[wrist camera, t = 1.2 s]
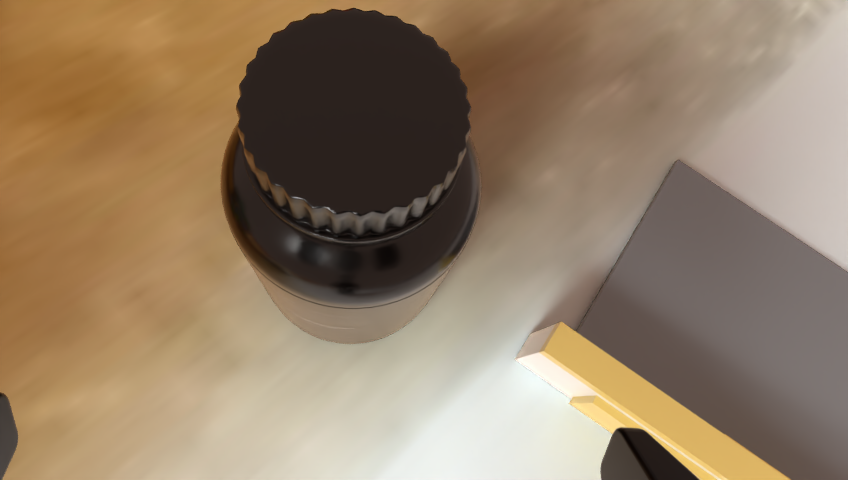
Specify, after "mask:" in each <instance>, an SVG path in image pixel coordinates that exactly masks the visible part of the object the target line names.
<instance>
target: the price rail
mask: <svg viewBox="0 0 848 480" xmlns="http://www.w3.org/2000/svg"><path fill="white" fill-rule="evenodd" d="M515 360H516V361H517V362H519V363H520V364H522V365H523V366H525V367H526V368H527V369H529V370H530V371H532V372H533V373H535V374H536V375H537V376H539V377H540V378H542V379H543V380H545V381H546V382H547V383H549V384H550V385H552V386H553V387H555V388H556V389H557V390H559V391H560V392H562V393H563V394H565V395H566V396H567V397H569V398H570V399H571V401H570V403H569V404H571V405H572V406H573V407H575V408H576V409H578V410H579V411H581V412H582V413H583V414H585V415H586V416H588V417H589V418H591V419H592V420H593V421H595V422H596V423H598V424H599V425H601V426H602V427H603V428H605V429H606V430H608V431H609V432H611V433H612V434H613V433H614V431H615V430H616V429H617V428H620V427H626V428H640V429H643V430H645V431H646V432H647V433H649V434H650V435H651V436H652V437H653V438H654V439H655V440H656V441H658V442H659V443H660V444H661V445H662V446H663V447H664V448H665V449H666V450H667V451H669V452H670V453H671V454H672V455H673V456H674V457H675V458H676V459H677V460H679V461H680V462H681V463H682V464H683V465H684V466H685V467H686V468H687V469H689V470H690V471H691V472H692V473H693V474H694V475H695V476H696V477H697V478H699V479H700V480H791V479H790V478H788V477H787V476H785V475H784V474H782V473H781V472H780V471H778V470H777V469H775V468H774V467H772V466H771V465H769V464H768V463H767V462H765V461H764V460H762V459H761V458H759V457H758V456H756V455H755V454H754V453H752V452H751V451H749V450H748V449H746V448H745V447H743V446H742V445H740V444H739V443H738V442H736V441H735V440H733V439H732V438H730V437H729V436H727V435H726V434H723V433H722V432H720V431H719V430H717V429H716V428H714V427H713V426H711V425H710V424H709V423H707V422H706V421H704V420H703V419H701V418H700V417H698V416H697V415H696V414H694V413H693V412H691V411H690V410H688V409H687V408H685V407H684V406H683V405H681V404H680V403H678V402H677V401H675V400H674V399H672V398H671V397H670V396H668V395H667V394H665V393H664V392H662V391H661V390H659V389H658V388H657V387H655V386H654V385H652V384H651V383H649V382H648V381H646V380H645V379H644V378H642V377H641V376H639V375H638V374H636V373H635V372H633V371H632V370H631V369H629V368H628V367H626V366H625V365H623V364H622V363H620V362H619V361H618V360H616V359H615V358H613V357H612V356H610V355H609V354H607V353H606V352H604V351H603V350H602V349H600V348H599V347H597V346H596V345H594V344H593V343H591V342H590V341H589V340H587V339H586V338H584V337H583V336H581V335H580V334H578V333H577V332H576V331H574V330H573V329H571V328H570V327H568V326H567V325H565V324H564V323H563V322H559V323H556V324H554V325H551V326H549V327H546V328H544V329H542V330H539V331H537V332H534V333H532V334H530V335H529V337H528V338H527V340H526V342H525V343H524V345H523V347H522V348H521V350H520V351H519V353H518V355H517V356H516V358H515Z"/></svg>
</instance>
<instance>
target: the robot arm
mask: <svg viewBox="0 0 848 480" xmlns="http://www.w3.org/2000/svg"><path fill="white" fill-rule="evenodd" d="M17 443H18V431H17V428H16V424H15V421H14V417H13V413H12V410H11V406H10V403H9V400H8V397H7V396H6V395H5V394H4V393H1V392H0V480H2V479H3V476H4V474H5V472H6V470H7V468H8V466H9V463H10V461H11V459H12V457H13V455H14V452H15V450H16V447H17ZM601 480H700V479H699V478H697V477H696V476H695V475H694V474H693V473H692V472H691V471H690V470H689V469H687V468H686V467H685V466H684V465H683V464H682V463H681V462H680V461H679V460H677V459H676V458H675V457H674V456H673V455H672V454H671V453H670V452H669V451H667V450H666V449H665V448H664V447H663V446H662V445H661V444H660V443H659V442H658V441H656V440H655V439H654V438H653V437H652V436H651V435H650V434H649V433H647V432H646V431H645V430H643V429H640V428H626V427H620V428H617V429H616V430H615V431H614V433H613V435H612V437H611V440H610V442H609V445H608V447H607V450H606V452H605V455H604V457H603V460H602V463H601Z"/></svg>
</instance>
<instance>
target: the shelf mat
mask: <svg viewBox="0 0 848 480" xmlns="http://www.w3.org/2000/svg"><path fill="white" fill-rule="evenodd" d="M576 332H577V333H578V334H580V335H581V336H583V337H584V338H586V339H587V340H589V341H590V342H591V343H593V344H594V345H596V346H597V347H599V348H600V349H602V350H603V351H604V352H606V353H607V354H609V355H610V356H612V357H613V358H615V359H616V360H618V361H619V362H620V363H622V364H623V365H625V366H626V367H628V368H629V369H631V370H632V371H633V372H635V373H636V374H638V375H639V376H641V377H642V378H644V379H645V380H646V381H648V382H649V383H651V384H652V385H654V386H655V387H657V388H658V389H659V390H661V391H662V392H664V393H665V394H667V395H668V396H670V397H671V398H672V399H674V400H675V401H677V402H678V403H680V404H681V405H683V406H684V407H685V408H687V409H688V410H690V411H691V412H693V413H694V414H696V415H697V416H698V417H700V418H701V419H703V420H704V421H706V422H707V423H709V424H710V425H711V426H713V427H714V428H716V429H717V430H719V431H720V432H722V433H723V434H726V435H727V436H729V437H730V438H732V439H733V440H735V441H736V442H738V443H739V444H740V445H742V446H743V447H745V448H746V449H748V450H749V451H751V452H752V453H754V454H755V455H756V456H758V457H759V458H761V459H762V460H764V461H765V462H767V463H768V464H769V465H771V466H772V467H774V468H775V469H777V470H778V471H780V472H781V473H782V474H784V475H785V476H787V477H788V478H790V479H791V480H848V272H847V271H845V270H844V269H842V268H841V267H839V266H838V265H836V264H835V263H833V262H832V261H830V260H829V259H827V258H826V257H824V256H823V255H821V254H820V253H818V252H817V251H815V250H814V249H812V248H811V247H809V246H808V245H806V244H805V243H803V242H802V241H800V240H799V239H797V238H796V237H794V236H793V235H791V234H789V233H788V232H786V231H785V230H783V229H782V228H780V227H779V226H777V225H776V224H774V223H773V222H771V221H770V220H768V219H767V218H765V217H764V216H762V215H761V214H759V213H758V212H756V211H755V210H753V209H752V208H750V207H749V206H747V205H746V204H744V203H743V202H741V201H740V200H738V199H737V198H735V197H734V196H732V195H731V194H729V193H728V192H726V191H725V190H723V189H722V188H720V187H719V186H717V185H716V184H714V183H713V182H711V181H710V180H708V179H707V178H705V177H704V176H702V175H701V174H699V173H698V172H696V171H695V170H693V169H692V168H690V167H689V166H687V165H686V164H684V163H683V162H681V161H680V160H677V161H676V162H675V163H674V164H673V166H672V168H671V170H670V171H669V173H668V175H667V176H666V178H665V180H664V182H663V183H662V185H661V187H660V188H659V190H658V192H657V194H656V195H655V197H654V199H653V200H652V202H651V204H650V206H649V207H648V209H647V211H646V212H645V214H644V216H643V218H642V219H641V221H640V223H639V224H638V226H637V228H636V230H635V231H634V233H633V235H632V236H631V238H630V240H629V242H628V243H627V245H626V247H625V248H624V250H623V252H622V254H621V255H620V257H619V259H618V260H617V262H616V264H615V266H614V267H613V269H612V271H611V272H610V274H609V276H608V278H607V279H606V281H605V283H604V284H603V286H602V288H601V290H600V291H599V293H598V295H597V296H596V298H595V300H594V302H593V303H592V305H591V307H590V308H589V310H588V312H587V314H586V315H585V317H584V319H583V320H582V322H581V324H580V326H579V327H578V329H577V331H576Z"/></svg>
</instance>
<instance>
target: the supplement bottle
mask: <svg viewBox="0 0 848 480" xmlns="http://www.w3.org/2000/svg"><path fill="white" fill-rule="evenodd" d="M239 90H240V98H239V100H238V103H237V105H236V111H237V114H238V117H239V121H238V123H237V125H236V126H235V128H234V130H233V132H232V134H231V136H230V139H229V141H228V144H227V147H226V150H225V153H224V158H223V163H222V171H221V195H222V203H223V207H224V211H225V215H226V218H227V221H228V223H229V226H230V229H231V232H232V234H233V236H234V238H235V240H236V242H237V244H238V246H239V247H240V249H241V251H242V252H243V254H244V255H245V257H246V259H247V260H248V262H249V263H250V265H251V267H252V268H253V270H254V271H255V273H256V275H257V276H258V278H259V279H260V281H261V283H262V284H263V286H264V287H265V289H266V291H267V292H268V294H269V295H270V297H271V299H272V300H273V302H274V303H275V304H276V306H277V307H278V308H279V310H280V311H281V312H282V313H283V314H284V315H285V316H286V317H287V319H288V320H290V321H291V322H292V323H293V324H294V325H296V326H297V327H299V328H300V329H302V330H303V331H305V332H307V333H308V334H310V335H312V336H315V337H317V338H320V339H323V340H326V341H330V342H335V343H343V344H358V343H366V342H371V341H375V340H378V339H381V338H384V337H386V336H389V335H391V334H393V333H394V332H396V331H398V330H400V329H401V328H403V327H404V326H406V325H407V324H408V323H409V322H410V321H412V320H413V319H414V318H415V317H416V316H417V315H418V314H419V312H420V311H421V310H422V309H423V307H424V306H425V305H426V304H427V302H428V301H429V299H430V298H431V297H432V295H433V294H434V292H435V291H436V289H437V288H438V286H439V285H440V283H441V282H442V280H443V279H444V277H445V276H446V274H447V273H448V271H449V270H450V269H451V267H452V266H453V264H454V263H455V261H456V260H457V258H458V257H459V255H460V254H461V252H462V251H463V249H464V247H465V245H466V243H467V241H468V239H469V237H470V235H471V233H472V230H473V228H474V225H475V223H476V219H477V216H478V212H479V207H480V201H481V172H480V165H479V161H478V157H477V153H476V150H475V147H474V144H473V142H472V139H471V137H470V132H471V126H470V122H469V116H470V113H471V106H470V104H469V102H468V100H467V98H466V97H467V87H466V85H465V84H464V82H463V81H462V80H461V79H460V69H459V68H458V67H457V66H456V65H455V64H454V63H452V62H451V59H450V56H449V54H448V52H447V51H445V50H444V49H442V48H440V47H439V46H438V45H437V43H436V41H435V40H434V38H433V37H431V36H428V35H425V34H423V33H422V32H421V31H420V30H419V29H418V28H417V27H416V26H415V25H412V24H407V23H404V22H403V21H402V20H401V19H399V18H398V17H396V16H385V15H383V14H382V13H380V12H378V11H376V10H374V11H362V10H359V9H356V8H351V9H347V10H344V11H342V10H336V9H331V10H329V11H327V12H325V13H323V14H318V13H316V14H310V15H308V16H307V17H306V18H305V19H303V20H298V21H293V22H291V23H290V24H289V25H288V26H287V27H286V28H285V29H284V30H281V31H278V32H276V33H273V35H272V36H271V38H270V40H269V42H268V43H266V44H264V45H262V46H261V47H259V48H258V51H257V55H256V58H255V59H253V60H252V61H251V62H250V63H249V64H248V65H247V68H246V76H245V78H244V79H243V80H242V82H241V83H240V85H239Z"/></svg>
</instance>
